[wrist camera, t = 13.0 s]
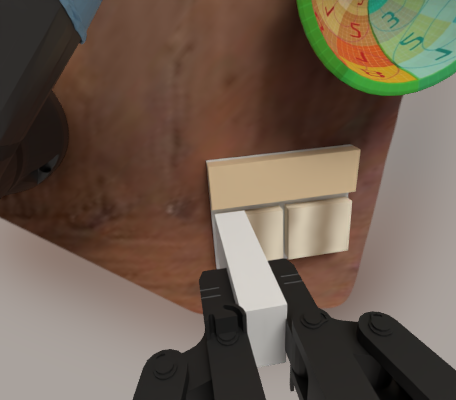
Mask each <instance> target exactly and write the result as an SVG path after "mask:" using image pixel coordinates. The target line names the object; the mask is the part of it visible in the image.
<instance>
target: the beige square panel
mask: <svg viewBox="0 0 456 400" xmlns="http://www.w3.org/2000/svg"><path fill="white" fill-rule="evenodd" d="M351 207H352V201H351V200H350V199H349V198H347V197H346V196H345V197H338V198H330V199H323V200H315V201H308V202H300V203H293V204H285V205H284V211H285V254H286V256H287V258H288V259H295V258H301V257H308V256H314V255H321V254H327V253H334V252H340V251H347V250H348V244H349V232H350V220H351Z"/></svg>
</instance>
